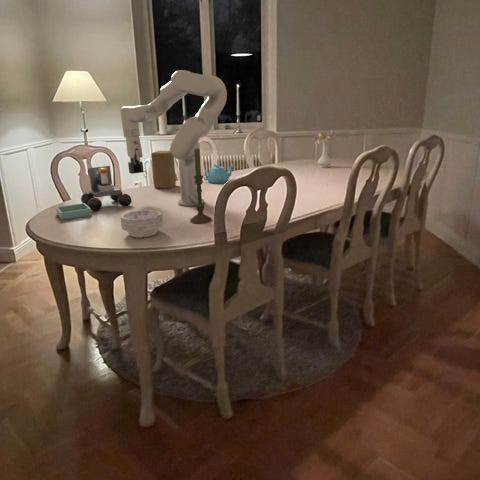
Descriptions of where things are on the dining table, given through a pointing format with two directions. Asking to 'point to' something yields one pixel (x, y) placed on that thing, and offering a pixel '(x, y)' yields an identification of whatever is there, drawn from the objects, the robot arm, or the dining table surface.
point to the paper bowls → (142, 223)
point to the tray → (73, 211)
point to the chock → (131, 167)
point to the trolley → (102, 190)
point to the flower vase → (324, 147)
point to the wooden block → (163, 169)
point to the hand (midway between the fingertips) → (136, 171)
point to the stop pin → (104, 176)
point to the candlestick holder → (199, 193)
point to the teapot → (218, 174)
